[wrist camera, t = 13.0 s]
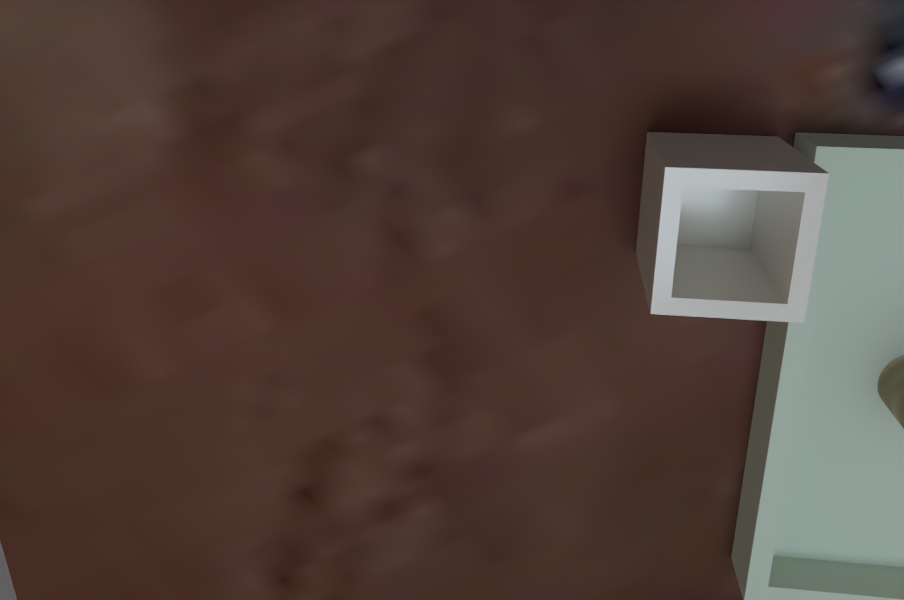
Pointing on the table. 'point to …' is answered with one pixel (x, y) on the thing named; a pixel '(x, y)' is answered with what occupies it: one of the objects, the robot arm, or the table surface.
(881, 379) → the dowel
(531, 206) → the table surface
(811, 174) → the cup
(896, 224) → the tray
